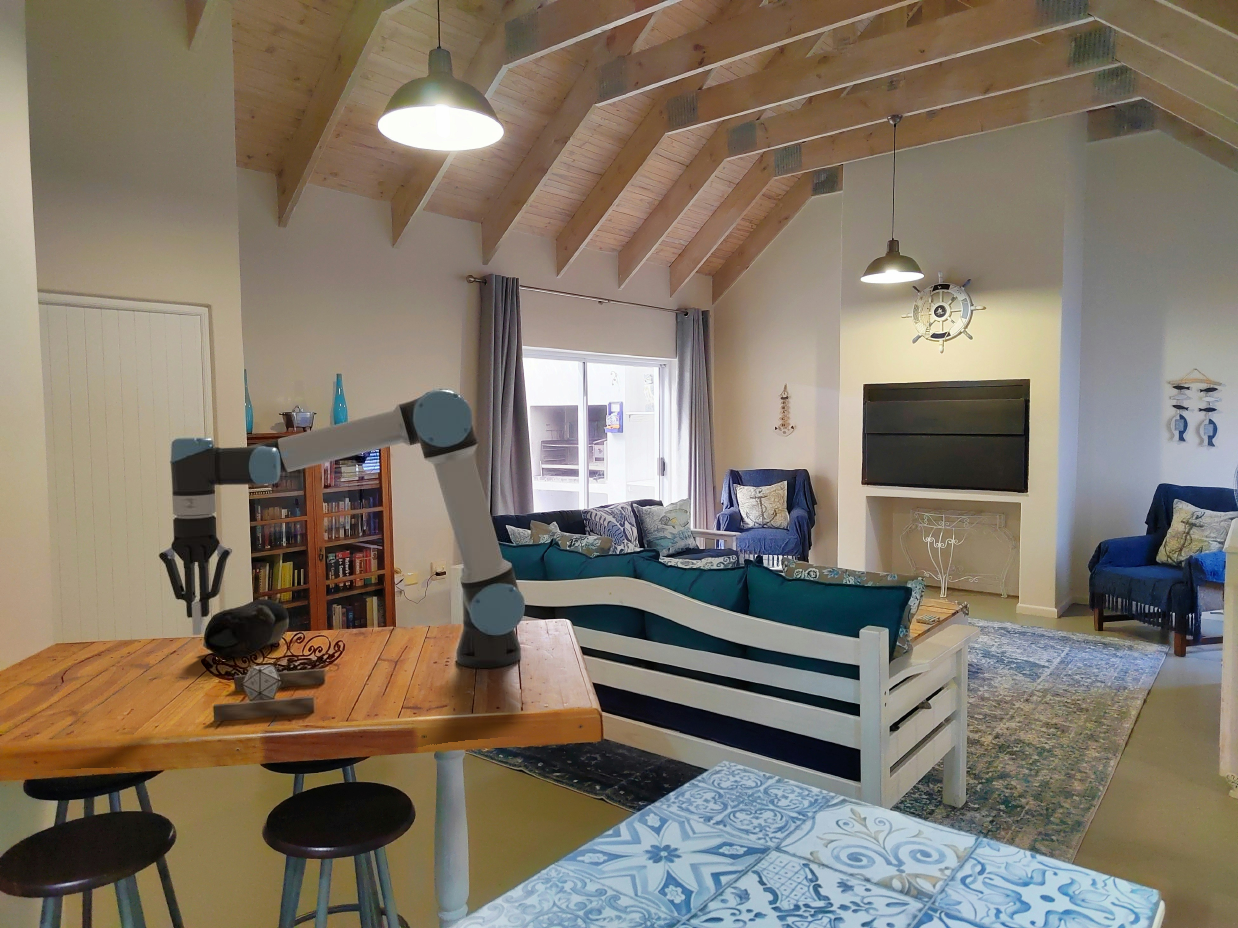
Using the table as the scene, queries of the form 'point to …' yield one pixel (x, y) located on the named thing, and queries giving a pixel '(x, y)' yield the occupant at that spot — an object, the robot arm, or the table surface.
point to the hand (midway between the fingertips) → (198, 632)
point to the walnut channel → (274, 705)
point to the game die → (261, 682)
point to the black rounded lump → (246, 629)
